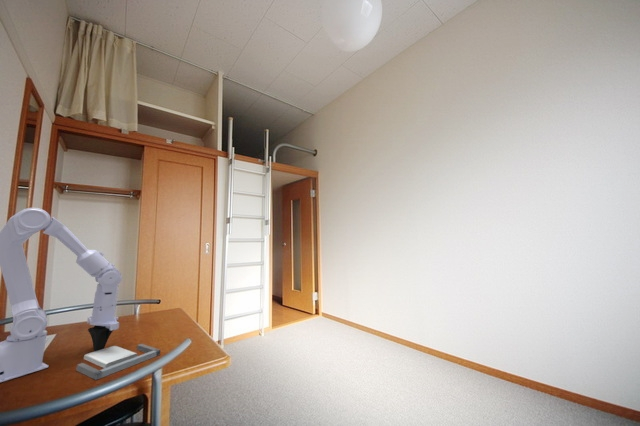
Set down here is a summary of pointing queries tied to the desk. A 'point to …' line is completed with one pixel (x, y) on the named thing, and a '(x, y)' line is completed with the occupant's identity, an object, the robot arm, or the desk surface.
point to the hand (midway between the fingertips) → (99, 350)
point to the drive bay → (98, 374)
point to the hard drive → (109, 356)
